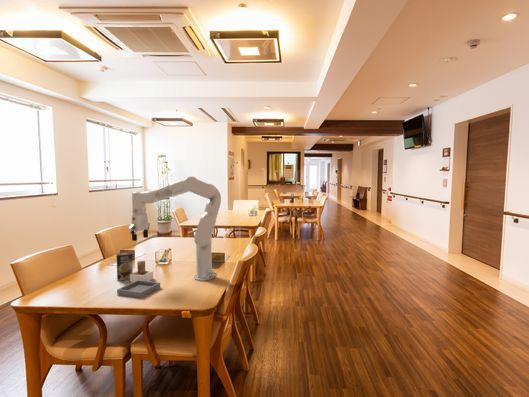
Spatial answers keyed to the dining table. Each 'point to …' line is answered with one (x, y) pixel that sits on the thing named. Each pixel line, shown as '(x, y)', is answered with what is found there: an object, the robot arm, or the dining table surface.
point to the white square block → (141, 276)
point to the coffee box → (124, 266)
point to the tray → (138, 289)
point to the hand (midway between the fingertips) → (140, 239)
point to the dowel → (141, 267)
